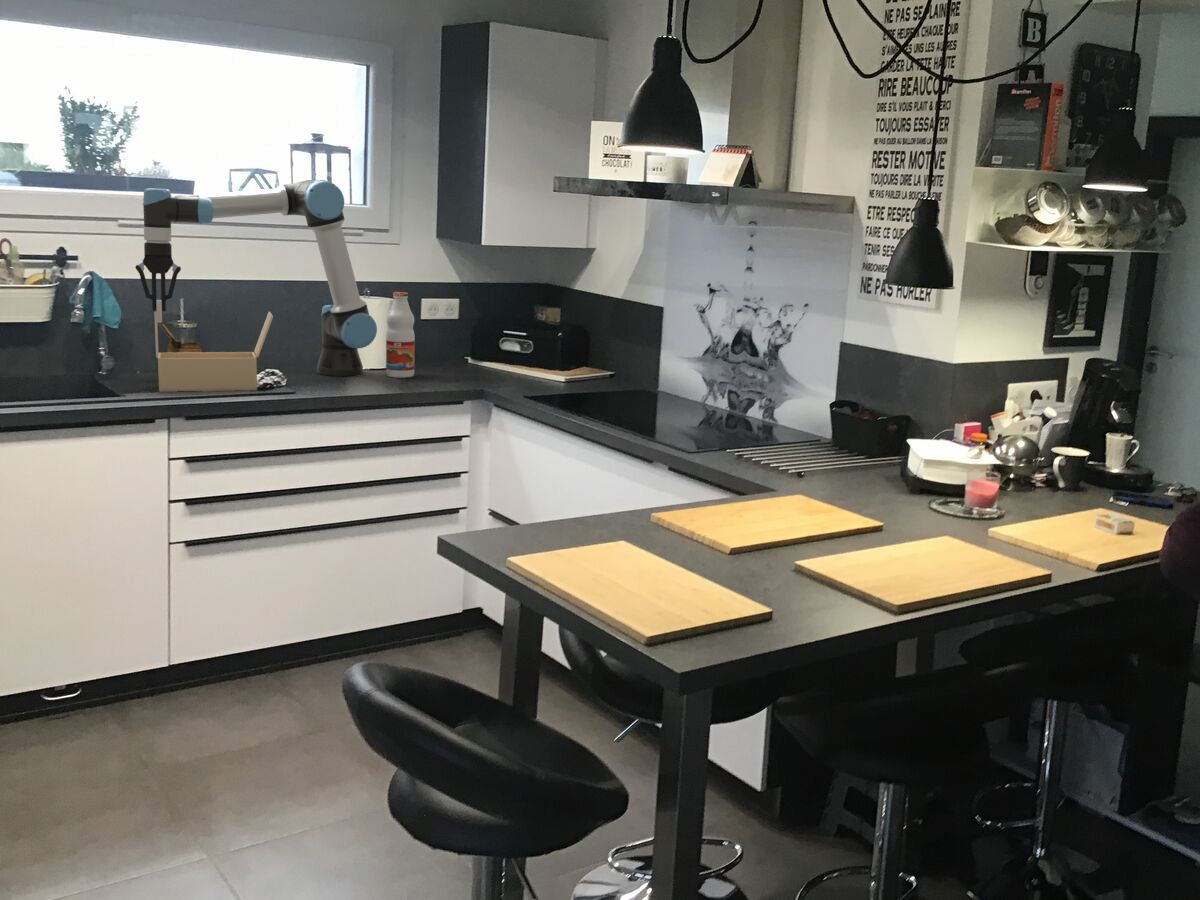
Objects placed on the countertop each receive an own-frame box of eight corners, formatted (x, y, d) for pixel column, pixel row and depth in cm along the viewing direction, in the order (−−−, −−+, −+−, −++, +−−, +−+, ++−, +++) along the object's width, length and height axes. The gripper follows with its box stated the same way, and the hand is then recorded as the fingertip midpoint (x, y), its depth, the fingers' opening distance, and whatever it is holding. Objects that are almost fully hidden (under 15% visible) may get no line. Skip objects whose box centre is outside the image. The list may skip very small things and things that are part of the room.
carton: (254, 383, 371) (253, 352, 369) (257, 390, 359) (256, 358, 357) (159, 385, 362) (158, 352, 360) (159, 392, 350) (157, 358, 348)
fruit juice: (417, 374, 402) (418, 292, 396) (409, 378, 393) (410, 294, 387) (391, 373, 403) (391, 290, 397) (382, 377, 394) (382, 292, 388)
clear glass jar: (162, 376, 378) (160, 320, 374) (206, 376, 382) (204, 320, 378) (159, 380, 370) (157, 323, 366) (205, 380, 373) (203, 323, 369)
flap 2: (254, 351, 369) (255, 351, 369) (256, 356, 357) (258, 357, 358) (268, 311, 368) (270, 312, 368) (271, 316, 356) (273, 316, 356)
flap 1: (157, 357, 348) (156, 357, 348) (158, 351, 359) (156, 351, 359) (156, 312, 345) (154, 312, 345) (156, 308, 357) (155, 308, 356)
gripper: (181, 242, 353) (182, 321, 357) (134, 240, 348) (136, 320, 353) (181, 243, 346) (182, 323, 351) (133, 241, 341) (135, 323, 346)
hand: (159, 322), depth 352 cm, fingers closed
